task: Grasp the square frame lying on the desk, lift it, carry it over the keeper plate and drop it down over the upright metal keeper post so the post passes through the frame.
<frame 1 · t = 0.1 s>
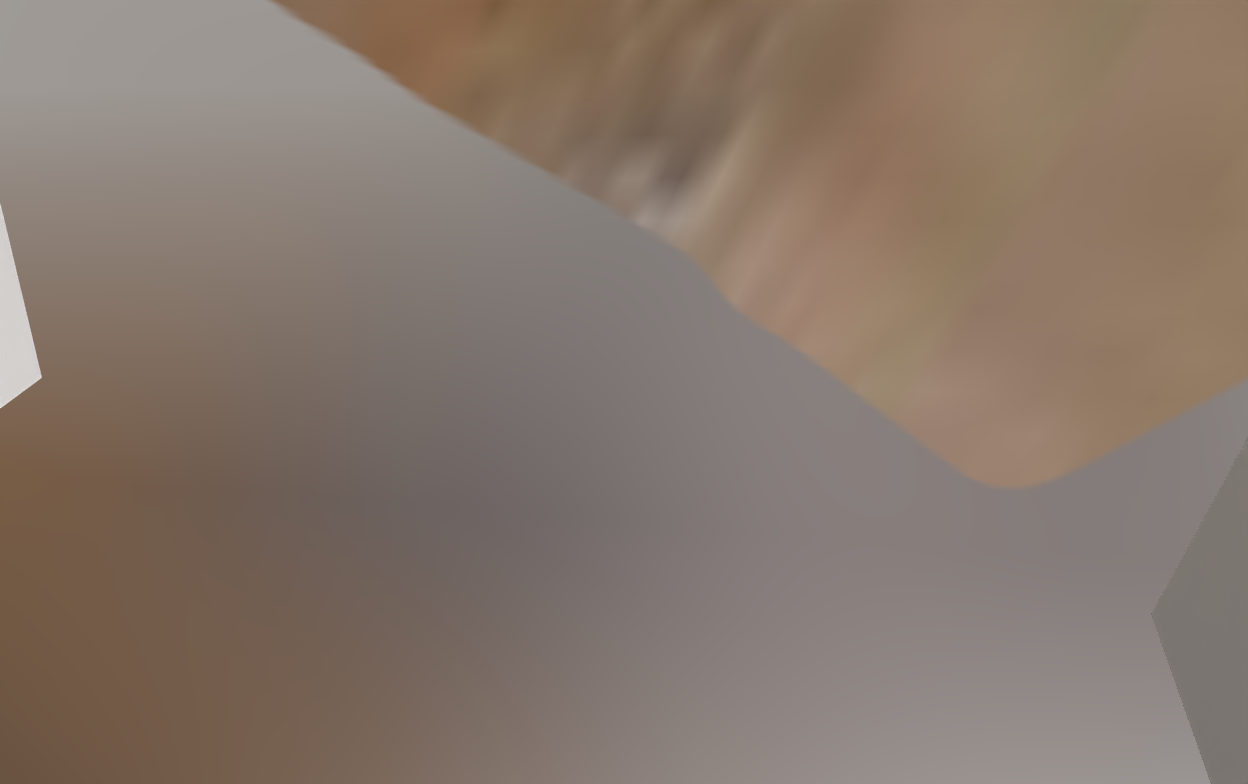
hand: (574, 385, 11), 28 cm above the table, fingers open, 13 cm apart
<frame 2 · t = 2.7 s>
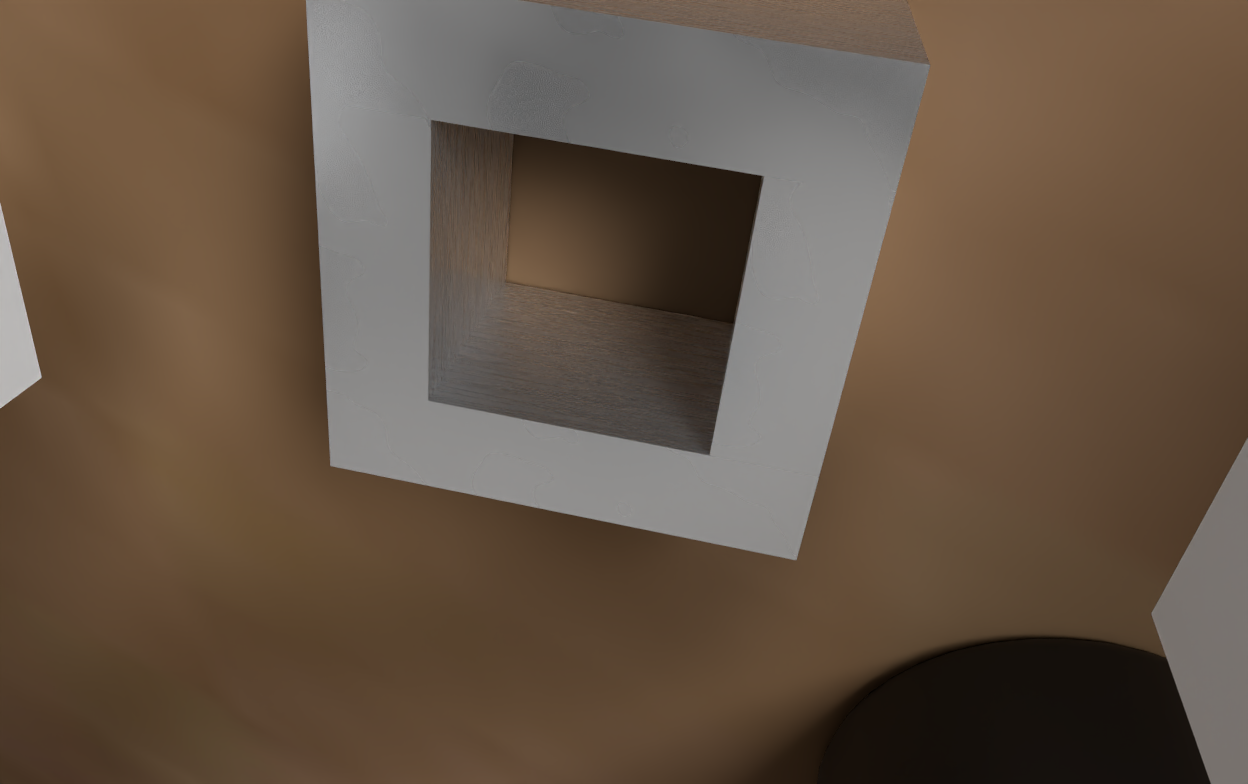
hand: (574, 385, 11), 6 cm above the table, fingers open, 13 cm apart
square frame: (631, 192, 16), on the table
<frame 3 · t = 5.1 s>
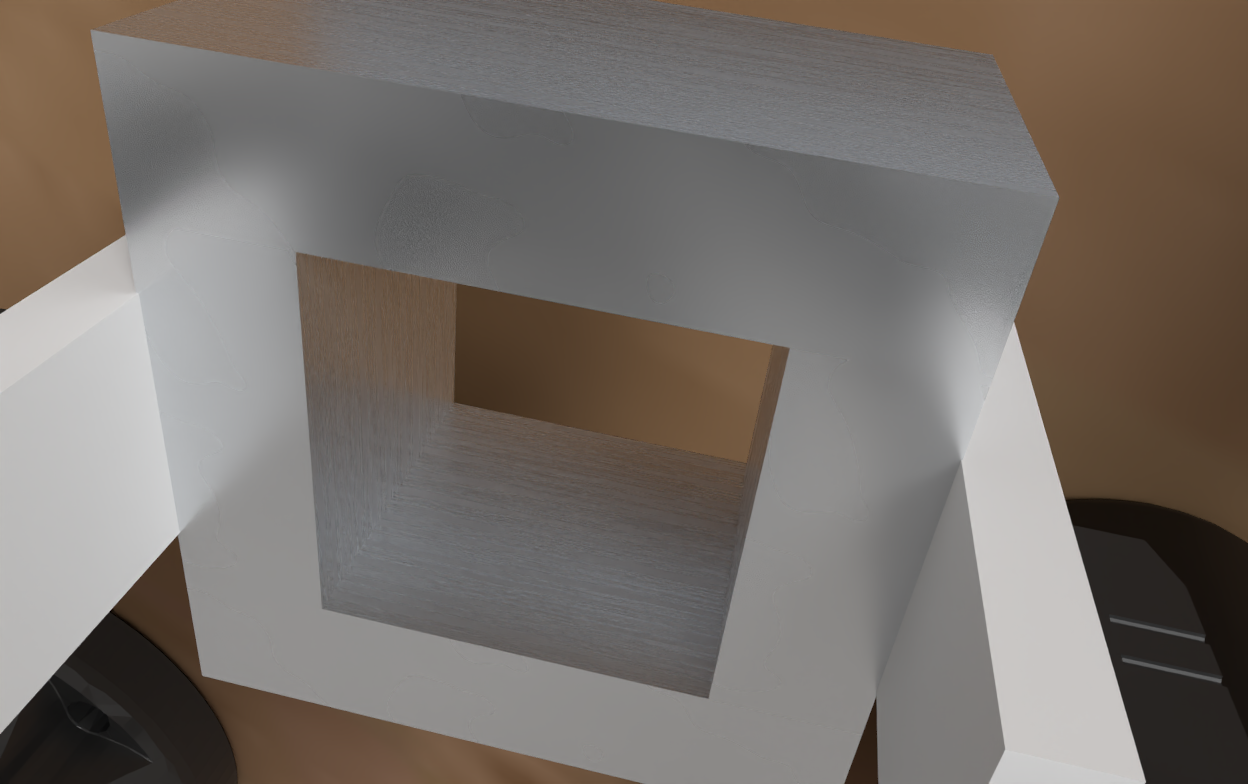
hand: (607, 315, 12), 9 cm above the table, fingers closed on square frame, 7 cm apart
mug: (1050, 671, 25), on the table
square frame: (613, 299, 12), point 9 cm above the table, touching gripper
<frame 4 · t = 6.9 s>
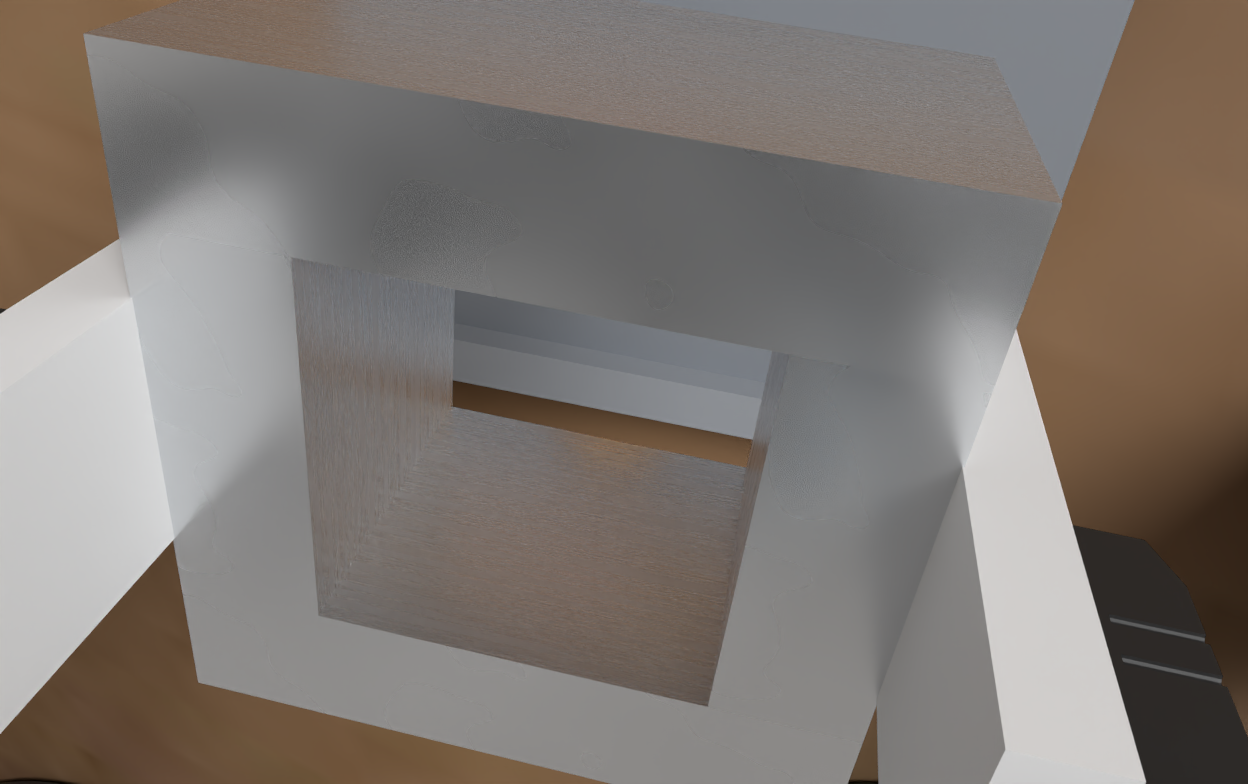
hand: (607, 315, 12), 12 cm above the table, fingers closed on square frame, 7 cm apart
keeper plate: (704, 79, 22), on the table
square frame: (612, 303, 12), point 12 cm above the table, touching gripper
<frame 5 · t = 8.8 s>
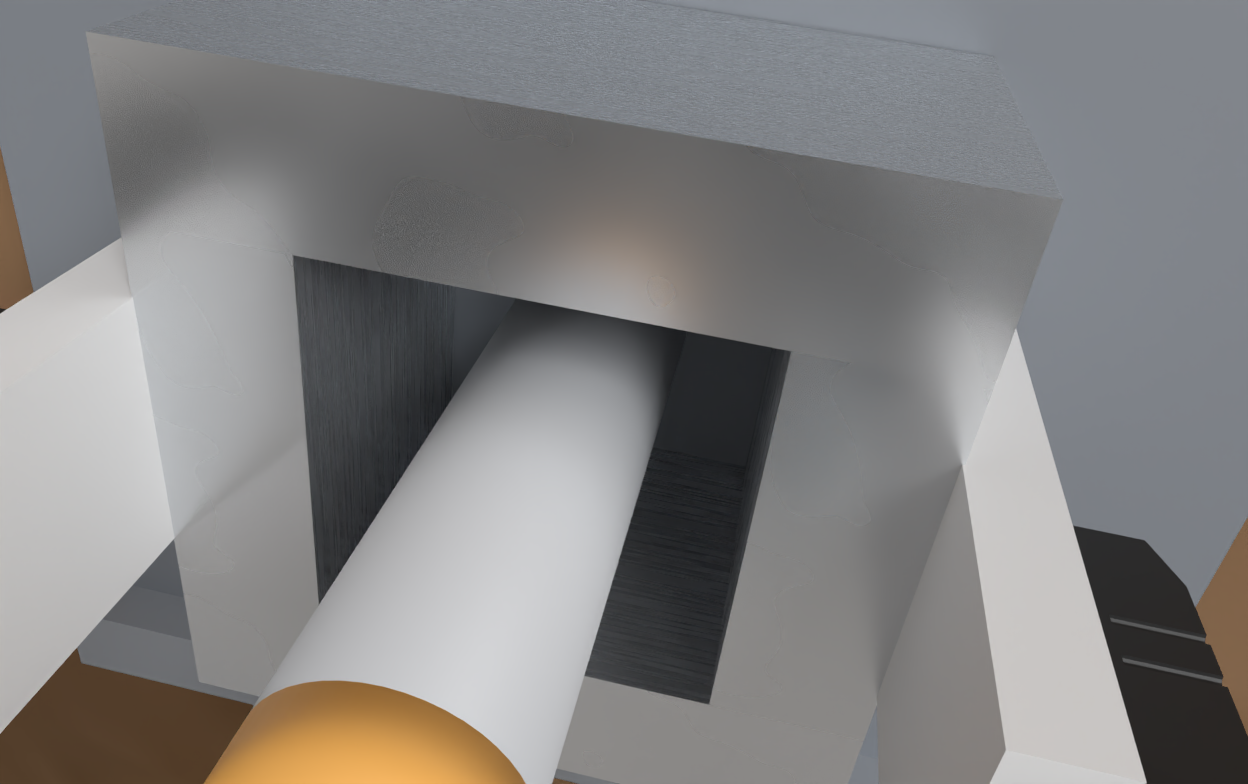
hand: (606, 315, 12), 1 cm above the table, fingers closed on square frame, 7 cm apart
keeper plate: (624, 274, 13), on the table
square frame: (612, 302, 12), point 1 cm above the table, touching gripper, keeper plate
when the fingers open (1 cm above the table, at t = 9.1 s): square frame stays where it is, resting on keeper plate.
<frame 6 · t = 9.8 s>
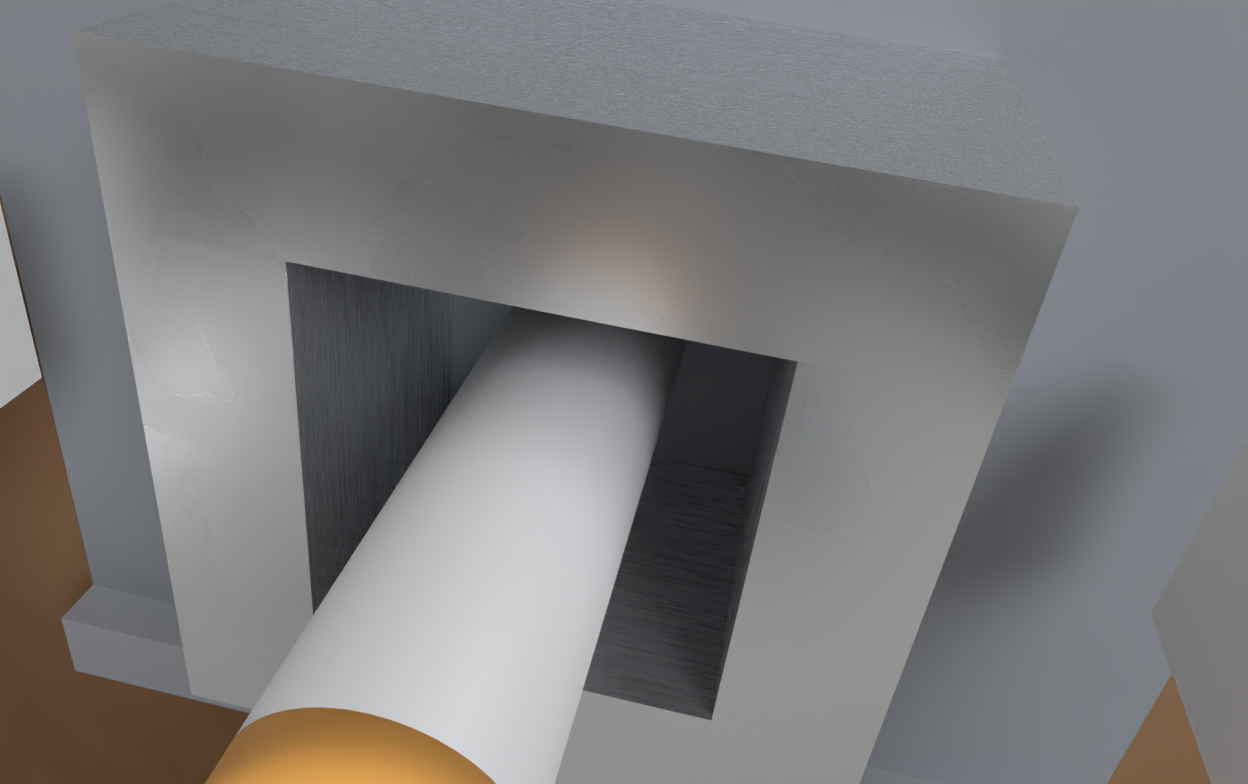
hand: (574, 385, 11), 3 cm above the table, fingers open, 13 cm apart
keeper plate: (624, 278, 13), on the table
square frame: (613, 308, 12), point 1 cm above the table, touching keeper plate
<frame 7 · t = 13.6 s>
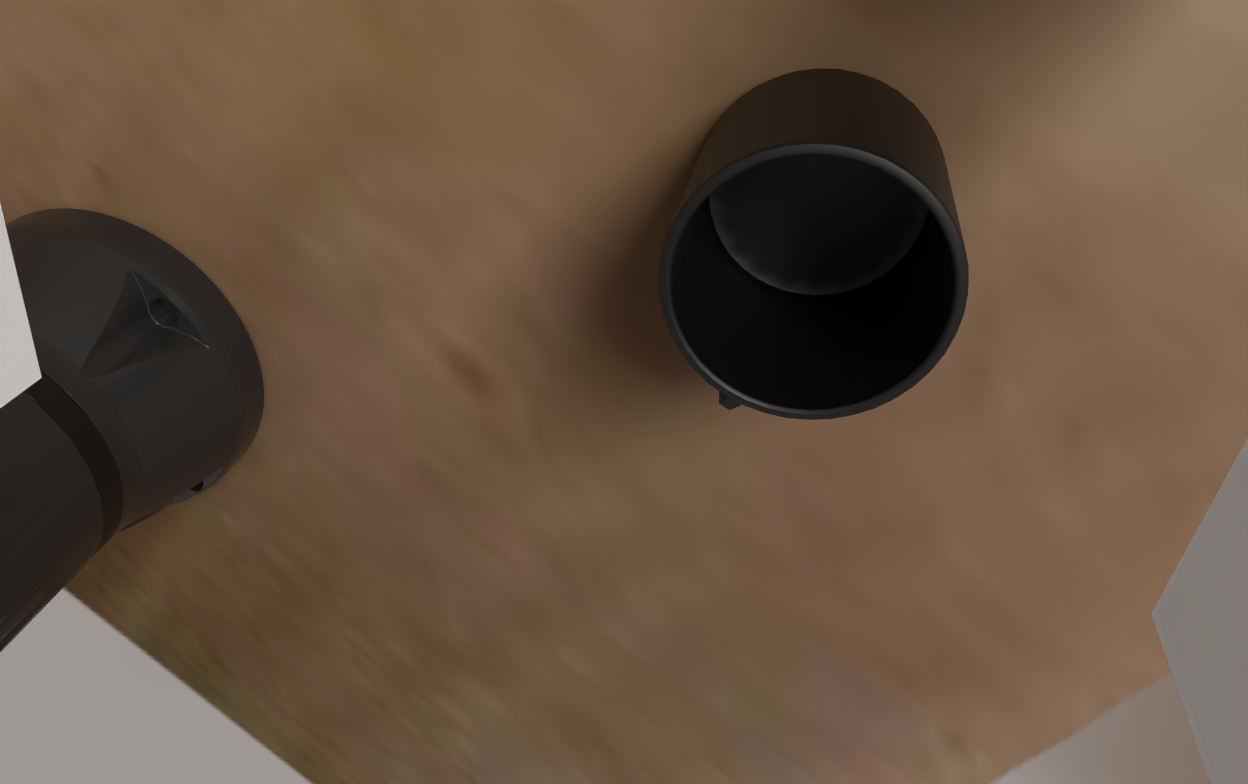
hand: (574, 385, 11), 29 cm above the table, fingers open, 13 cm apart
mug: (802, 217, 39), on the table
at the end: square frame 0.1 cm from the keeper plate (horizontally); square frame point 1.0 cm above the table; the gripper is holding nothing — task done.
